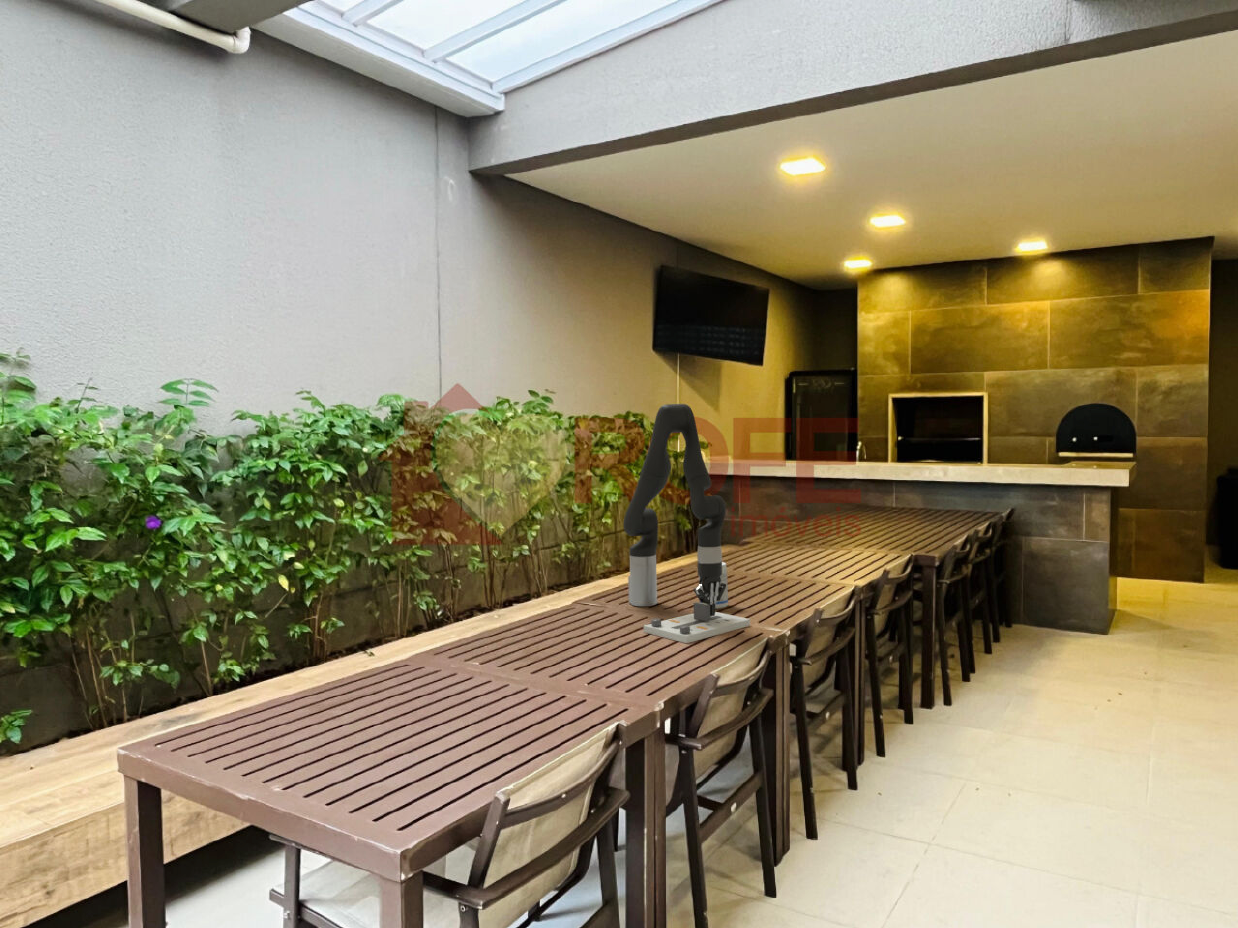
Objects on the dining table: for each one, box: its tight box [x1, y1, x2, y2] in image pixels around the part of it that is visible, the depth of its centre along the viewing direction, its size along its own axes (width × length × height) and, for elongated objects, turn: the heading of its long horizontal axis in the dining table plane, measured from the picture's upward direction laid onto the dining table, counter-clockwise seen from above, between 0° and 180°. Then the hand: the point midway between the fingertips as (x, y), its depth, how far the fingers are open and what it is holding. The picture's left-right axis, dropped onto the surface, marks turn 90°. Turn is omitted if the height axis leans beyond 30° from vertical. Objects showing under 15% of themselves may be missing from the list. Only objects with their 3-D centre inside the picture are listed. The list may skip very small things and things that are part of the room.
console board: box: [643, 611, 751, 644], centre depth 251 cm, size 18×28×4 cm, turn 131°
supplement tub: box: [698, 561, 729, 610], centre depth 281 cm, size 10×10×15 cm
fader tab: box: [693, 601, 710, 622], centre depth 253 cm, size 5×2×5 cm, turn 41°
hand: (710, 615), depth 255 cm, fingers closed
